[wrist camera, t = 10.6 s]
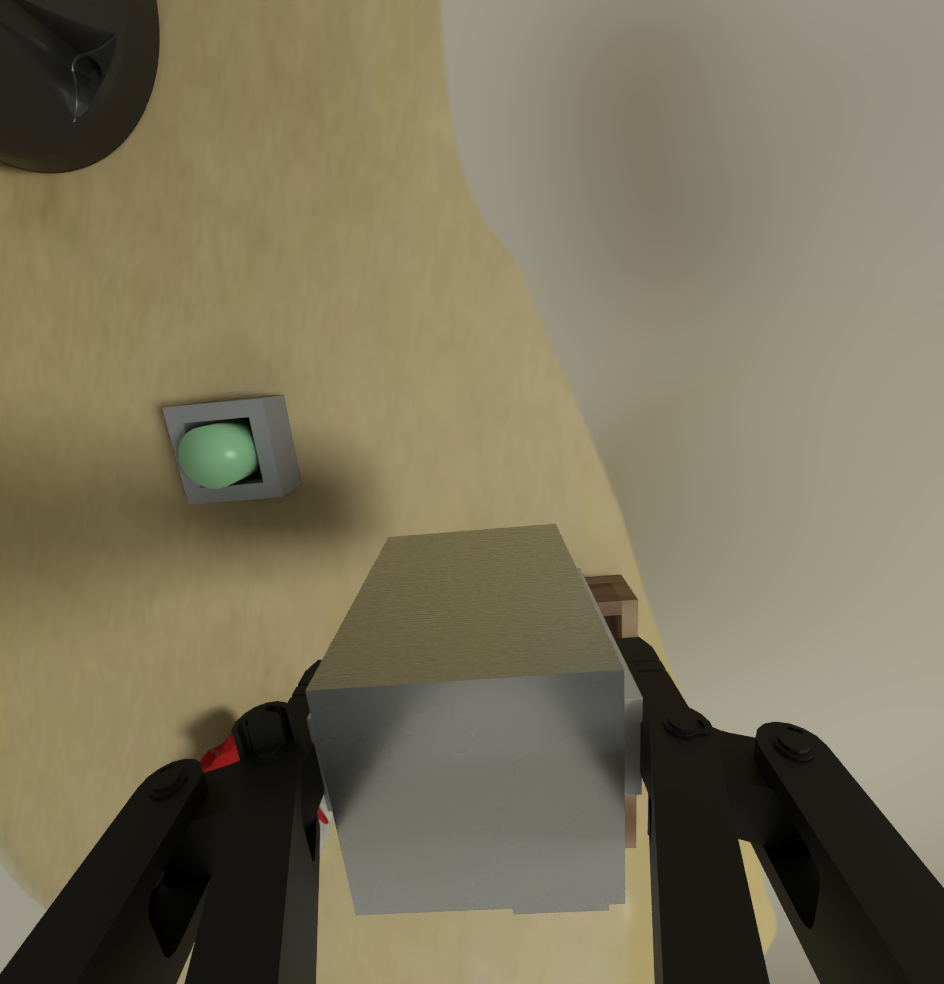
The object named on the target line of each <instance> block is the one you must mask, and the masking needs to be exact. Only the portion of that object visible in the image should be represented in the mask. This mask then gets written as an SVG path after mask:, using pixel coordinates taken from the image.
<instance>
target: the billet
mask: <svg viewBox="0 0 944 984" xmlns="http://www.w3.org/2000/svg"><path fill="white" fill-rule="evenodd" d="M305 692H306V696H307V700H308V705H309V709H310V714H311V718H312V723H313V727H314V731H315V736H316V740H317V745H318V749H319V754H320V758H321V762H322V767H323V771H324V776H325V780H326V785H327V789H328V793H329V798H330V802H331V807H332V811H333V816H334V820H335V824H336V829H337V833H338V838H339V842H340V847H341V851H342V855H343V860H344V864H345V869H346V873H347V878H348V882H349V886H350V891H351V895H352V900H353V904H354V909H355V913H356V915H372V914H396V913H419V912H442V911H465V910H488V909H511V908H535V907H558V906H581V905H604V904H625V707H624V668H623V666H622V664H621V662H620V660H619V657H618V655H617V653H616V651H615V649H614V647H613V645H612V643H611V640H610V638H609V636H608V634H607V632H606V630H605V628H604V626H603V623H602V621H601V619H600V617H599V615H598V613H597V611H596V609H595V606H594V604H593V602H592V600H591V598H590V596H589V594H588V591H587V589H586V587H585V585H584V583H583V581H582V579H581V577H580V574H579V572H578V570H577V568H576V566H575V564H574V562H573V560H572V557H571V555H570V553H569V551H568V549H567V547H566V545H565V543H564V540H563V538H562V536H561V534H560V532H559V530H558V528H557V526H556V524H546V525H534V526H521V527H509V528H496V529H484V530H471V531H459V532H446V533H434V534H421V535H409V536H396V537H388V539H387V541H386V543H385V545H384V546H383V548H382V550H381V552H380V554H379V556H378V557H377V559H376V561H375V563H374V565H373V567H372V569H371V570H370V572H369V574H368V576H367V578H366V580H365V582H364V583H363V585H362V587H361V589H360V591H359V593H358V594H357V596H356V598H355V600H354V602H353V604H352V606H351V607H350V609H349V611H348V613H347V615H346V617H345V618H344V620H343V622H342V624H341V626H340V628H339V630H338V631H337V633H336V635H335V637H334V639H333V641H332V643H331V644H330V646H329V648H328V650H327V652H326V654H325V655H324V657H323V659H322V661H321V663H320V665H319V667H318V668H317V670H316V672H315V674H314V676H313V678H312V679H311V681H310V683H309V685H308V687H307V689H306V691H305Z"/></svg>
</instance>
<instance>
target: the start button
mask: <svg viewBox="0 0 944 984" xmlns="http://www.w3.org/2000/svg"><path fill="white" fill-rule="evenodd" d="M178 458H179V462H180V465H181V467H182V469H183V471H184V472H185V474H186V475H187V476H188V477H189V478H190V479H191V480H192V481H193V482H195V483H197V484H198V485H200V486H203V487H206V488H211V489H219V488H223V487H226V486H228V485H230V484H233V483H235V482H237V481H239V480H241V479H243V478H245V477H247V476H249V475H251V474H254V473H256V472H258V471H259V470H261V469H260V465H259V460H258V456H257V451H256V447H255V442H254V437H253V433H252V428H251V424H250V422H248V421H245V420H239V419H238V420H230V421H225V422H220V423H216V424H211V425H207V426H202V427H198V428H194V429H192V430H190V431H189V432H187V433H186V434H185V435H184V437H183V438H182V440H181V441H180V444H179V448H178Z"/></svg>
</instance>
